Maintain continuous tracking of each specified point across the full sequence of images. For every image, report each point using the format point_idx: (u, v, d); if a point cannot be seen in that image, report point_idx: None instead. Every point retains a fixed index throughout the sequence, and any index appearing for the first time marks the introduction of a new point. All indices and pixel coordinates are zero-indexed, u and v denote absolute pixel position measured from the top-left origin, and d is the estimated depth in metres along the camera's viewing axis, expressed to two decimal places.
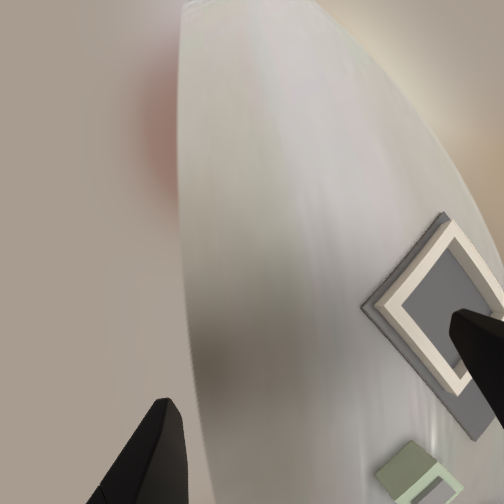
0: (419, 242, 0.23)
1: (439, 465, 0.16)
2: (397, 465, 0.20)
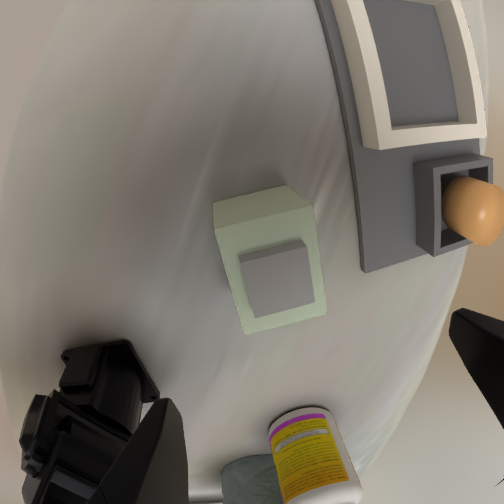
0: None
1: (311, 217, 0.14)
2: (249, 199, 0.17)
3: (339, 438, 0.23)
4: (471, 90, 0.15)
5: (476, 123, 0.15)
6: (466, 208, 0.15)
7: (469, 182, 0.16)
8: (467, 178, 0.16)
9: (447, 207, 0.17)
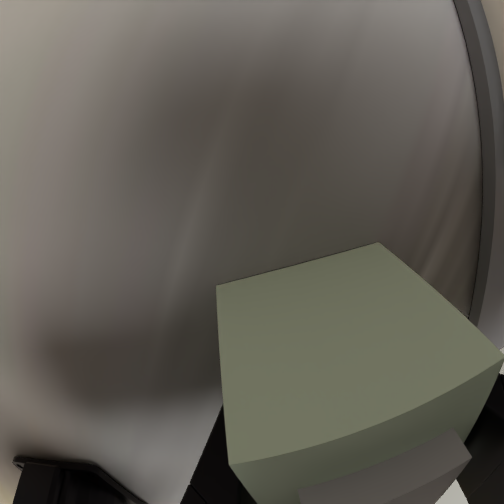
0: None
1: (491, 383, 0.04)
2: (309, 294, 0.07)
3: None
4: None
5: None
6: None
7: None
8: None
9: None
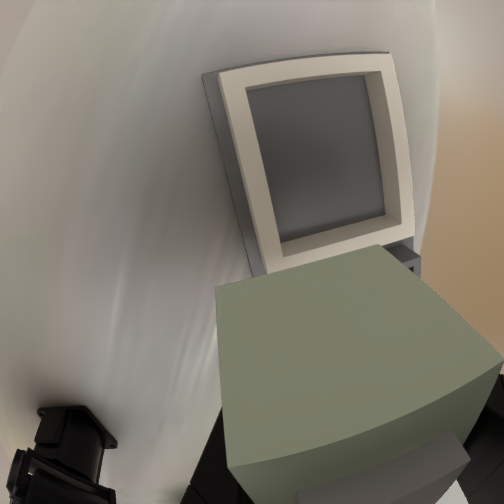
0: (330, 54, 0.15)
1: (490, 385, 0.04)
2: (308, 296, 0.07)
3: None
4: (398, 185, 0.17)
5: (400, 223, 0.17)
6: None
7: None
8: None
9: None
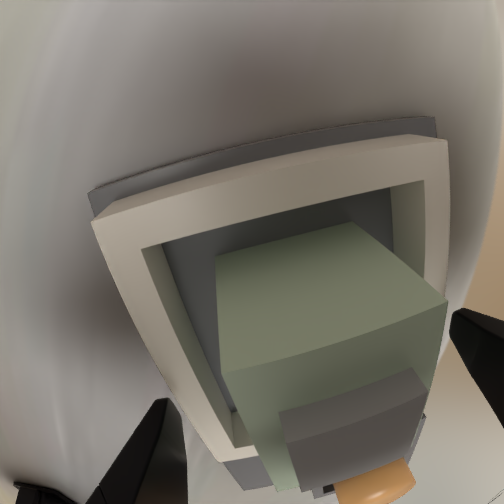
0: (328, 129, 0.09)
1: (439, 325, 0.05)
2: (290, 259, 0.08)
3: None
4: None
5: None
6: (342, 499, 0.11)
7: None
8: None
9: None
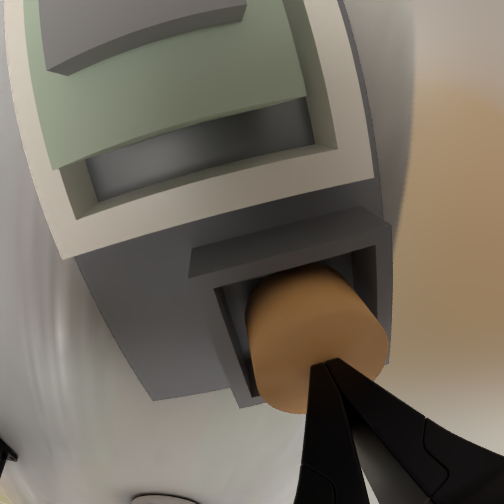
0: None
1: None
2: None
3: None
4: (321, 69, 0.07)
5: (336, 149, 0.08)
6: (254, 357, 0.09)
7: (284, 294, 0.09)
8: (293, 278, 0.09)
9: None
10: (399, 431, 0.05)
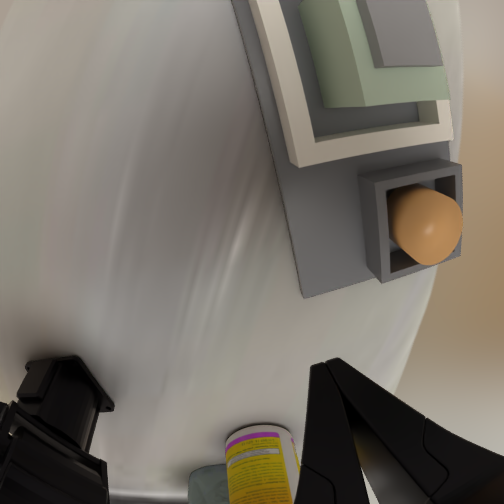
0: None
1: None
2: None
3: (291, 459, 0.23)
4: None
5: (438, 123, 0.14)
6: (404, 223, 0.15)
7: (412, 192, 0.15)
8: (413, 187, 0.16)
9: None
10: (399, 431, 0.05)
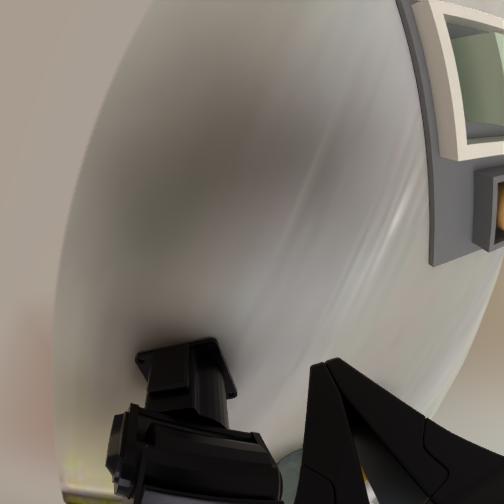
0: None
1: None
2: None
3: None
4: None
5: None
6: None
7: None
8: None
9: None
10: (399, 431, 0.05)
